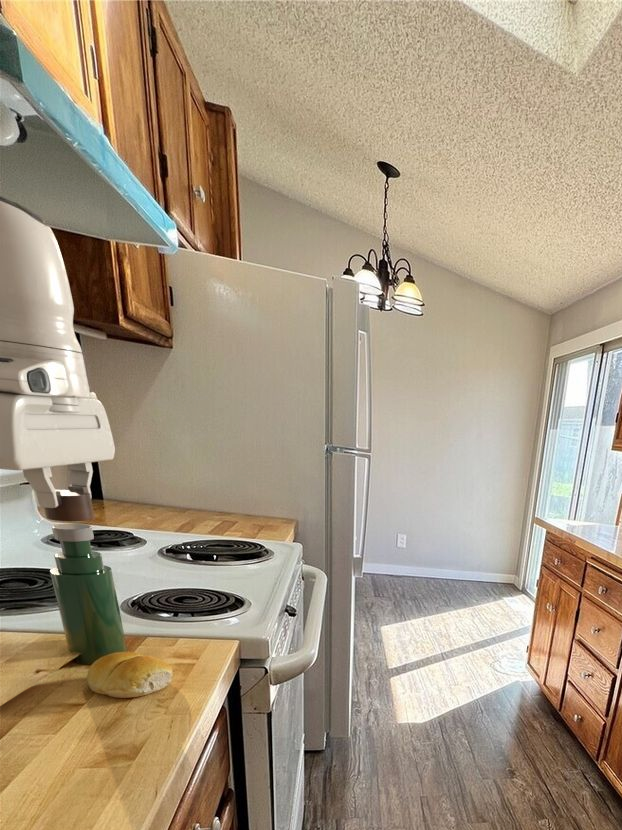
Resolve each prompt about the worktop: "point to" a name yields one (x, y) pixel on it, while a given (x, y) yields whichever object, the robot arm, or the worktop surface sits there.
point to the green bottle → (86, 596)
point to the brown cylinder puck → (72, 507)
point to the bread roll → (128, 675)
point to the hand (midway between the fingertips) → (67, 503)
